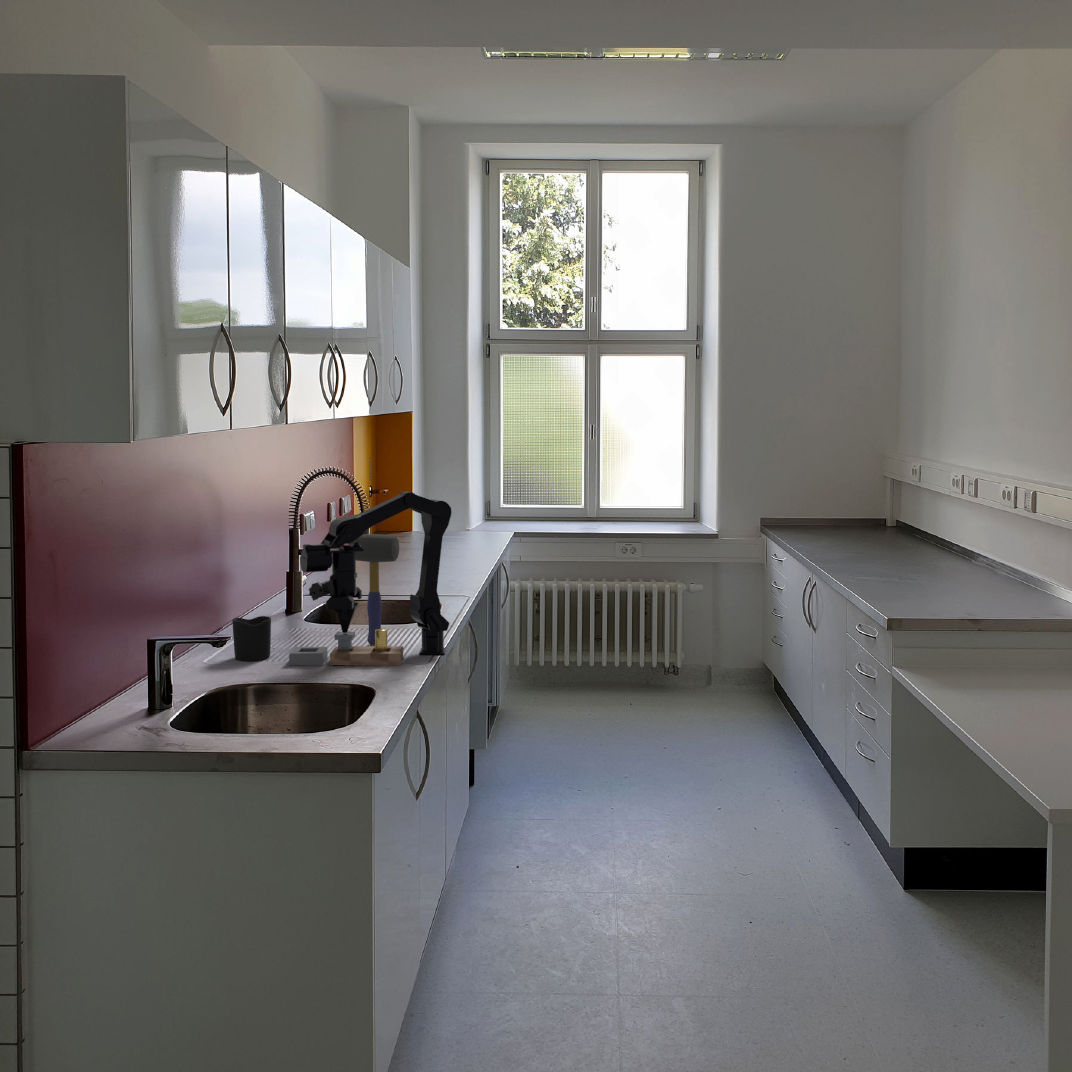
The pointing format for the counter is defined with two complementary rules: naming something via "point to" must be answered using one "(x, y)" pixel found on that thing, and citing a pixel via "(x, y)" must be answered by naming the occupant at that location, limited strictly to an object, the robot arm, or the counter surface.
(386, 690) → the counter surface
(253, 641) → the pen holder
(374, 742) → the counter surface
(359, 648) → the socket block
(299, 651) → the gray square frame
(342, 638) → the gray rectangular block
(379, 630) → the brass rod
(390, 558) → the rubber mallet
